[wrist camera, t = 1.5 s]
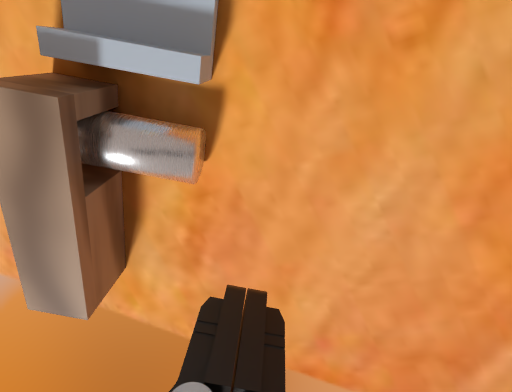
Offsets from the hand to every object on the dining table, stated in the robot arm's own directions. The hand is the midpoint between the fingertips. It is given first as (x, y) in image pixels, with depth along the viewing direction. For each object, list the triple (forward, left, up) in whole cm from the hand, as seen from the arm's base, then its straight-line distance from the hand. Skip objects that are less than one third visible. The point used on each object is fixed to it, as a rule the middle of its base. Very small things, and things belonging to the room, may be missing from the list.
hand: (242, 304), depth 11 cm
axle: (+11, 0, -15) cm, 18 cm away
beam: (+14, +5, -15) cm, 21 cm away
